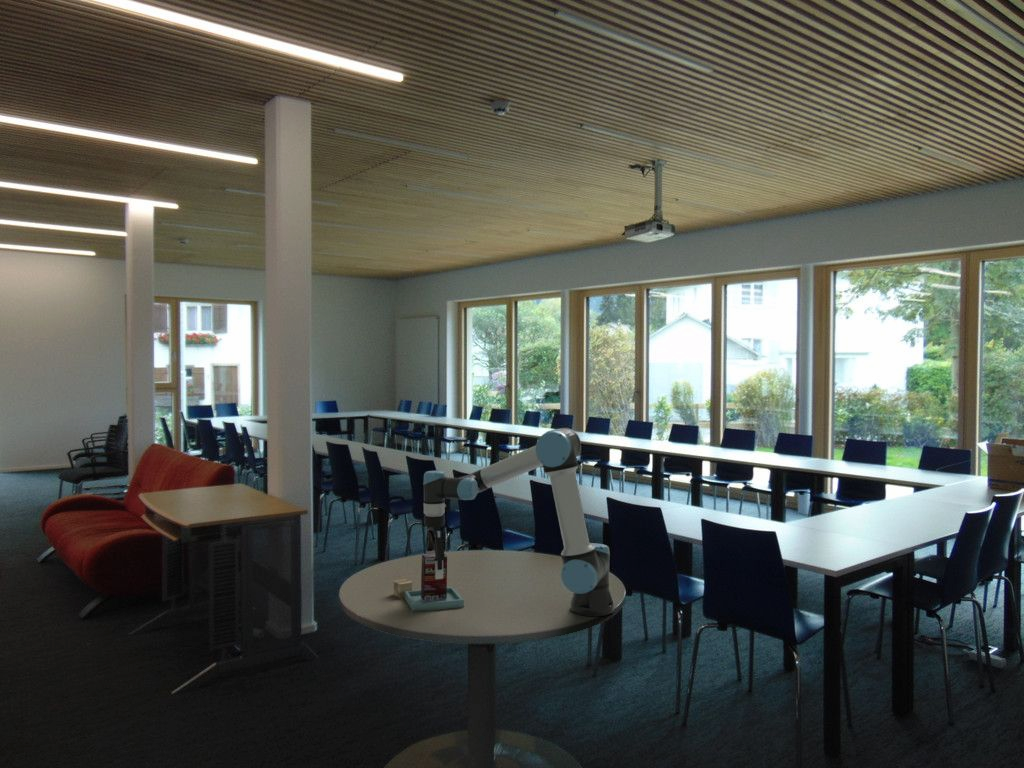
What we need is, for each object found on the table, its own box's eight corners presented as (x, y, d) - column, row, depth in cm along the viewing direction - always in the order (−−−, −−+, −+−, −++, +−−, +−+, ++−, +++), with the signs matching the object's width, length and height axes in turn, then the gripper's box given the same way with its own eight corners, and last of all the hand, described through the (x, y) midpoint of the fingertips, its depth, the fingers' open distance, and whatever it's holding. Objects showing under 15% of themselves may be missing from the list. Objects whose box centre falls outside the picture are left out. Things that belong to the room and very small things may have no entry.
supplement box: (423, 602, 264) (423, 558, 264) (420, 598, 269) (421, 554, 268) (447, 600, 267) (447, 556, 266) (444, 596, 271) (444, 553, 271)
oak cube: (411, 595, 276) (411, 582, 276) (399, 598, 273) (399, 584, 273) (405, 592, 280) (405, 579, 280) (393, 594, 277) (393, 581, 277)
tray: (463, 606, 263) (463, 599, 263) (413, 611, 257) (413, 604, 257) (452, 593, 278) (452, 586, 278) (404, 598, 272) (404, 591, 272)
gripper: (453, 520, 256) (453, 581, 257) (436, 507, 280) (437, 564, 280) (431, 521, 254) (432, 583, 254) (417, 509, 278) (417, 566, 278)
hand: (434, 573), depth 267 cm, fingers open, 13 cm apart
